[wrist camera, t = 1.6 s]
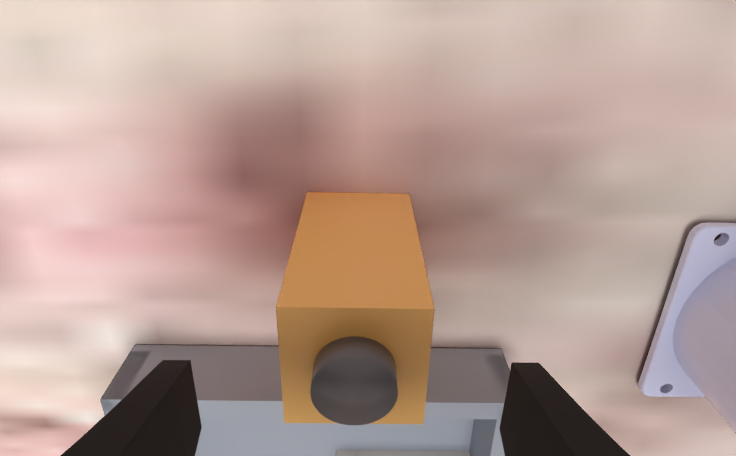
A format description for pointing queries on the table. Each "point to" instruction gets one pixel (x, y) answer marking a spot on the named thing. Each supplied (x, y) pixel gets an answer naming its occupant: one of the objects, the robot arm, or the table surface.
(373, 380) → the connector
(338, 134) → the table surface
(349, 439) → the tray
